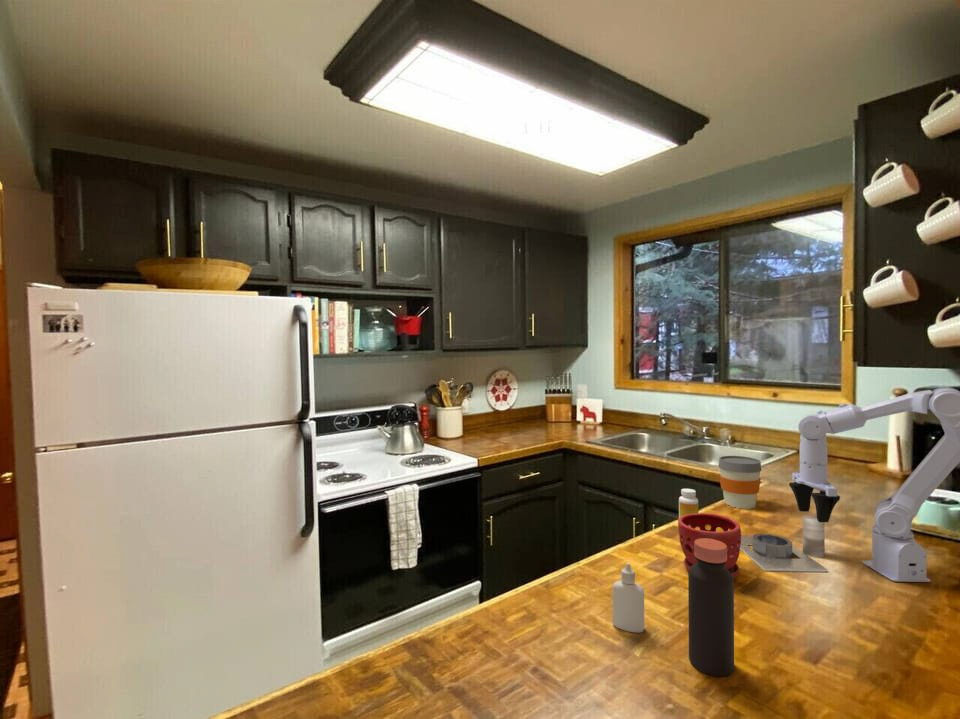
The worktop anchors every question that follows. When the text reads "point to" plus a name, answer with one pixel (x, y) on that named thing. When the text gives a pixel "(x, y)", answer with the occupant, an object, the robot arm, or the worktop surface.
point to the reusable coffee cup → (740, 480)
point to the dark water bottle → (711, 609)
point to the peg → (813, 537)
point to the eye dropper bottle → (628, 602)
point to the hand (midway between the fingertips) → (813, 516)
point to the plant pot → (710, 536)
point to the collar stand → (777, 554)
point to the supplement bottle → (688, 502)
